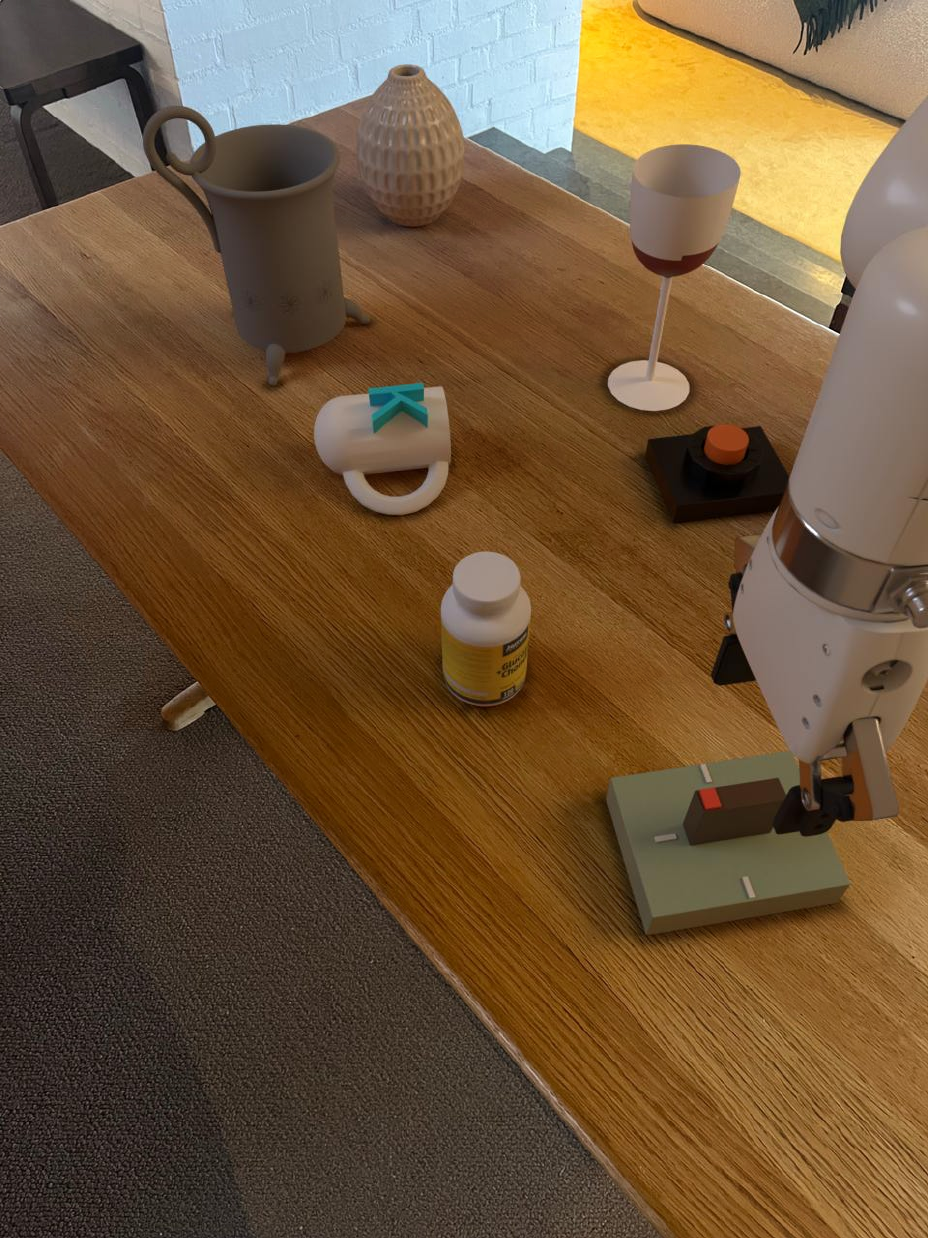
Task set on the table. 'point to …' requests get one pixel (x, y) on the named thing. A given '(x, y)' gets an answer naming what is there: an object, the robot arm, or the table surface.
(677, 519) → the button block
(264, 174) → the mug
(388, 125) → the vase
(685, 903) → the panel
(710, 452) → the button
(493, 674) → the pill bottle
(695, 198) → the wineglass
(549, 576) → the table surface
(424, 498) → the mug
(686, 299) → the table surface
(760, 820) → the handle
